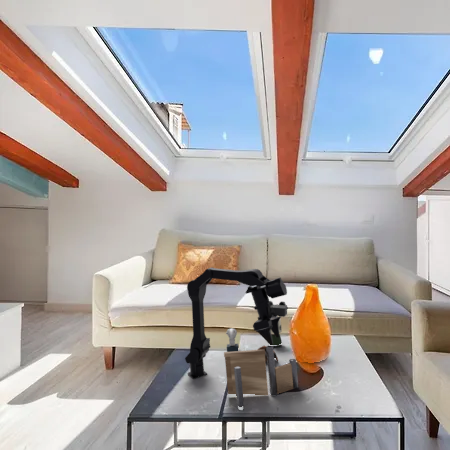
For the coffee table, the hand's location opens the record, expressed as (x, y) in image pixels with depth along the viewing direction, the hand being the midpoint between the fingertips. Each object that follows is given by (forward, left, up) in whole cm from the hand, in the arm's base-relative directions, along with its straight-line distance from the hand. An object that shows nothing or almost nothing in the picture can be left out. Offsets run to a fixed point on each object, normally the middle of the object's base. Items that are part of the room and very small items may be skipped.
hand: (274, 340), depth 146 cm
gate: (+4, -16, -15) cm, 22 cm away
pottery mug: (-19, +7, -16) cm, 26 cm away
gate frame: (+9, -10, -15) cm, 21 cm away
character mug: (-34, +23, -16) cm, 44 cm away
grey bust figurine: (-41, +3, -16) cm, 44 cm away
